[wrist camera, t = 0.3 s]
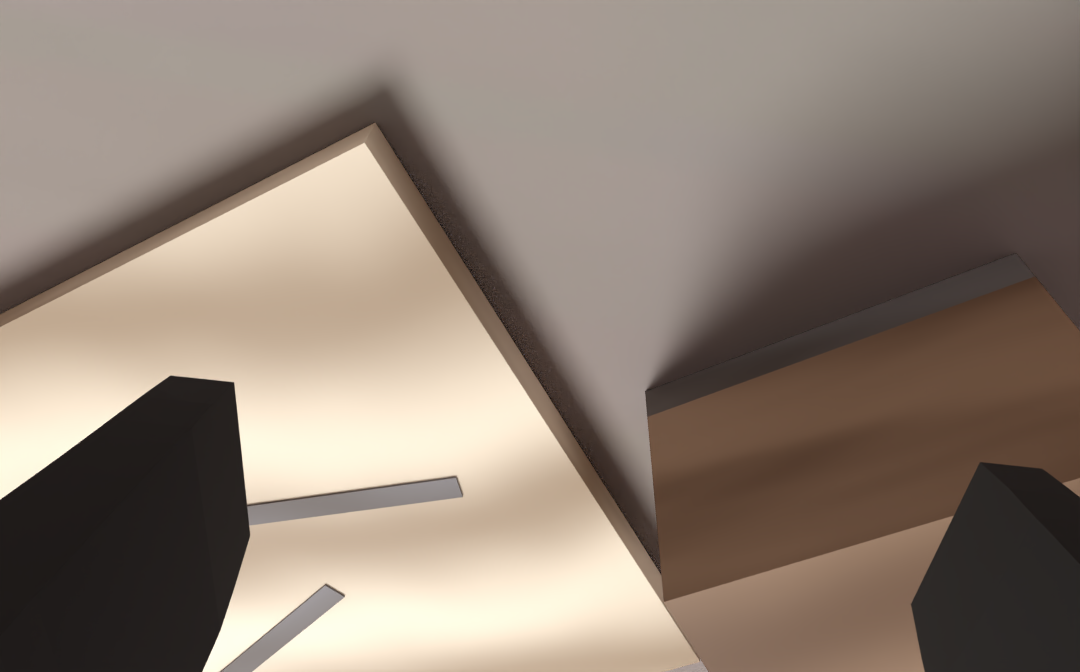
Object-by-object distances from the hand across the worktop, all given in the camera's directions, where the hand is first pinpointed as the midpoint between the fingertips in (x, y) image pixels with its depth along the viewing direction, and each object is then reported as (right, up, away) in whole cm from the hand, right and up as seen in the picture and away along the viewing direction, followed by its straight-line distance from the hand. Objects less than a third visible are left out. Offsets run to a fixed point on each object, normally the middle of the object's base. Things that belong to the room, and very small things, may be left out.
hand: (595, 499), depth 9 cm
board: (-8, -4, +14) cm, 17 cm away
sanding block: (+6, 0, +11) cm, 13 cm away
